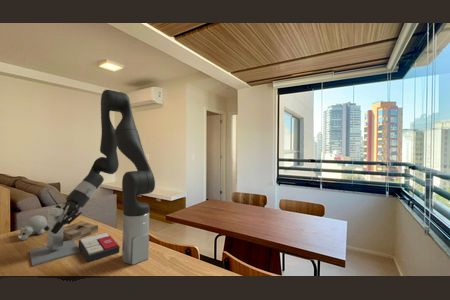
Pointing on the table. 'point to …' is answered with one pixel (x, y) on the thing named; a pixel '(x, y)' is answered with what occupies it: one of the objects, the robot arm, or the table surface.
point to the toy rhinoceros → (33, 227)
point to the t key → (53, 218)
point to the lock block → (79, 230)
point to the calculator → (98, 247)
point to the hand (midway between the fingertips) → (49, 231)
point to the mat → (53, 253)
